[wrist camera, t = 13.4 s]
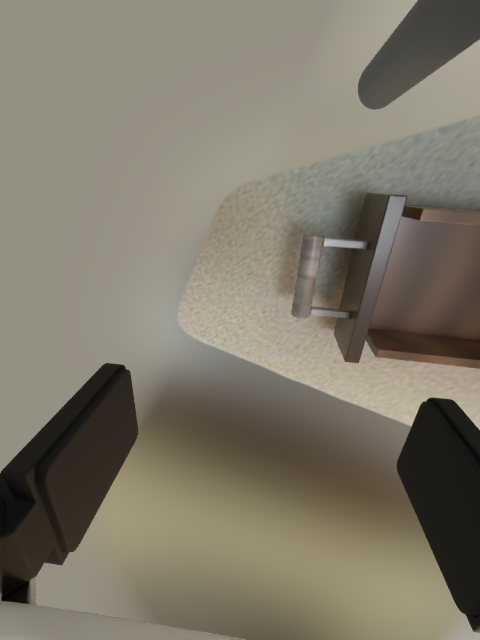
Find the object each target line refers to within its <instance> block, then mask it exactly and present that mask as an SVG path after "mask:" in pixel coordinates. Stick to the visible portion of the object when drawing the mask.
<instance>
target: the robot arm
mask: <svg viewBox="0 0 480 640" xmlns="http://www.w3.org/2000/svg"><path fill="white" fill-rule="evenodd" d="M137 435H138V425H137V418H136V410H135V404H134V396H133V389H132V382H131V374H130V371H129V370H126V368H125V366H124V365H119V364H110V363H106V364H104V365H103V366H102V367H101V368H100V369H99V370H98V371H97V372H96V373H95V374H94V375H93V376H92V377H91V378H90V379H89V380H88V381H87V382H86V383H85V384H84V385H83V386H82V388H81V389H80V390H79V391H78V392H77V393H76V394H75V395H74V396H73V397H72V398H71V399H70V400H69V401H68V402H67V403H66V404H65V405H64V406H63V407H62V408H61V409H60V410H59V412H58V413H57V414H56V415H55V416H54V417H53V418H52V419H51V420H50V421H49V422H48V423H47V424H46V425H45V426H44V427H43V428H42V429H41V430H40V432H38V434H37V435H36V436H35V437H34V438H33V439H32V440H31V441H30V442H29V443H28V444H27V445H26V446H25V447H24V448H23V449H22V450H21V451H20V452H19V453H18V454H17V455H16V456H15V457H14V459H13V460H12V461H11V462H10V463H9V464H8V465H7V466H6V467H5V468H4V469H3V470H2V471H1V473H0V640H246V639H241V638H235V637H229V636H223V635H217V634H212V633H206V632H200V631H194V630H188V629H181V628H176V627H170V626H164V625H158V624H152V623H146V622H140V621H134V620H128V619H121V618H116V617H110V616H104V615H98V614H92V613H86V612H79V611H72V610H65V609H58V608H51V607H44V606H37V605H36V586H35V577H36V575H37V574H38V572H39V571H40V569H41V567H42V566H43V564H44V562H45V563H51V564H57V565H62V564H63V563H64V561H65V559H66V557H67V555H68V554H69V552H73V551H75V550H76V548H77V547H78V546H79V544H80V542H81V540H82V538H83V537H84V535H85V533H86V531H87V529H88V528H89V526H90V524H91V522H92V520H93V518H94V516H95V515H96V513H97V511H98V509H99V507H100V505H101V504H102V502H103V500H104V498H105V496H106V494H107V492H108V491H109V489H110V487H111V485H112V483H113V481H114V480H115V478H116V476H117V474H118V472H119V470H120V469H121V467H122V465H123V463H124V461H125V459H126V457H127V456H128V454H129V452H130V450H131V448H132V446H133V445H134V443H135V441H136V438H137ZM397 470H398V474H399V476H400V478H401V481H402V483H403V485H404V488H405V490H406V492H407V494H408V497H409V499H410V501H411V504H412V506H413V508H414V510H415V513H416V515H417V517H418V520H419V522H420V524H421V526H422V528H423V531H424V533H425V535H426V538H427V540H428V542H429V544H430V547H431V549H432V551H433V553H434V556H435V558H436V560H437V563H438V565H439V567H440V570H441V572H442V574H443V576H444V579H445V581H446V583H447V586H448V588H449V590H450V592H451V595H452V597H453V599H454V601H455V603H456V605H457V607H458V608H459V610H460V611H461V612H462V613H464V614H466V616H467V618H468V621H469V623H470V625H471V627H472V629H473V631H474V632H478V633H480V430H479V429H478V428H477V427H476V426H475V424H474V423H473V422H472V421H471V420H470V419H469V417H468V416H467V415H466V414H465V413H464V412H463V410H462V409H461V408H460V407H459V406H458V405H457V403H456V402H454V401H453V400H450V399H441V398H429V399H428V400H427V401H426V402H423V403H422V404H421V405H420V408H419V410H418V413H417V415H416V417H415V420H414V422H413V425H412V427H411V430H410V432H409V434H408V437H407V439H406V442H405V444H404V446H403V449H402V452H401V454H400V456H399V458H398V461H397Z"/></svg>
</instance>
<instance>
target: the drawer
mask: <svg viewBox="0 0 480 640" xmlns="http://www.w3.org/2000/svg"><path fill="white" fill-rule="evenodd" d="M406 199H407V196H404V195H390V194H375V193H367V194H366V198H365V202H364V207H363V211H362V215H361V219H360V224H359V228H358V232H357V236H356V240H351V239H339V238H327V237H324V235H322V234H318V233H304V234H303V241H302V247H301V254H300V260H299V266H298V273H297V279H296V286H295V292H294V299H293V305H292V311H291V314H292V315H293V316H294V317H297V318H308V317H309V315H317V316H327V317H337V322H336V326H335V330H334V336H335V338H336V340H337V343H338V345H339V348H340V350H341V353H342V355H343V358H344V360H345V362H352V363H359V360H360V357H361V353H362V350H363V346H364V343H365V340H366V341H367V343H368V345H369V347H370V348H371V350H372V352H373V353H374V355H375V357H379V358H388V359H397V360H406V361H415V362H424V363H433V364H442V365H451V366H460V367H469V368H478V369H480V210H466V209H452V208H439V207H425V206H412V205H405V203H406ZM322 245H323V246H329V247H341V248H353V253H352V258H351V262H350V266H349V271H348V275H347V279H346V283H345V288H344V292H343V296H342V300H341V305H340V309H330V308H320V307H311V304H312V299H313V293H314V288H315V283H316V277H317V272H318V267H319V261H320V256H321V250H322Z"/></svg>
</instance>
